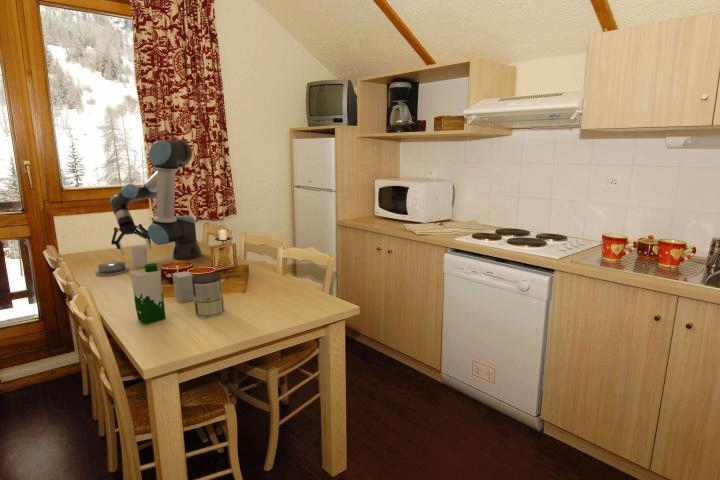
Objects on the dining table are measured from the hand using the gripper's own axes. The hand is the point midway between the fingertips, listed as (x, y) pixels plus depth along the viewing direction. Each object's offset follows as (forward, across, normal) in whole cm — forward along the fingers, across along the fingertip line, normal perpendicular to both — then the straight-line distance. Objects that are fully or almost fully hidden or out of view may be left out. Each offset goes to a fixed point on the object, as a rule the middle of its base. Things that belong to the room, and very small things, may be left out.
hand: (136, 251), depth 239 cm
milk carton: (+67, +21, +56) cm, 89 cm away
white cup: (+7, 0, -5) cm, 8 cm away
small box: (+57, +3, +46) cm, 74 cm away
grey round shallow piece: (+8, +14, -3) cm, 16 cm away
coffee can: (+74, +3, +63) cm, 97 cm away
